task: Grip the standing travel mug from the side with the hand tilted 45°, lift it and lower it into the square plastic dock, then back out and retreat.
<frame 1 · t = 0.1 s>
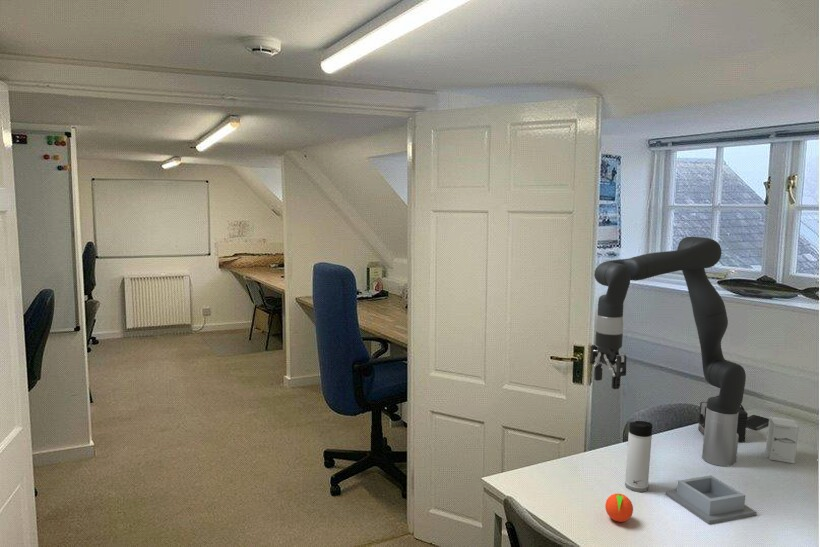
hand: (606, 384, 176), 29 cm above the table, tool pointing down, fingers open, 8 cm apart
clementine: (618, 521, 157), on the table
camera: (719, 436, 215), on the table
mug dock: (709, 504, 166), on the table
phone: (754, 424, 227), on the table
travel mug: (636, 487, 175), on the table
supplement box: (779, 458, 197), on the table
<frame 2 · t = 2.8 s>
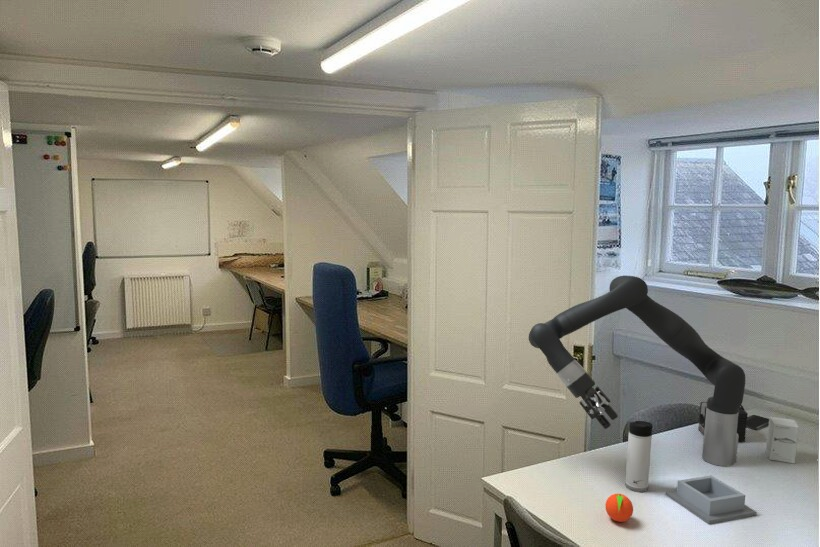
hand: (612, 422, 177), 18 cm above the table, tool tilted 45°, fingers open, 8 cm apart
nothing on the table moved.
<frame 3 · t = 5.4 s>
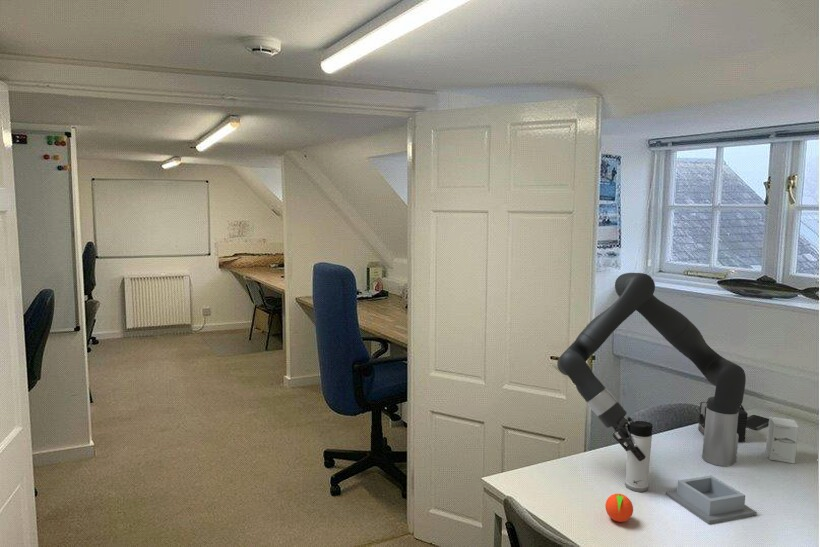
hand: (645, 455, 173), 10 cm above the table, tool tilted 45°, fingers closed on travel mug, 6 cm apart
travel mug: (636, 487, 175), on the table, touching gripper
everything else where it was.
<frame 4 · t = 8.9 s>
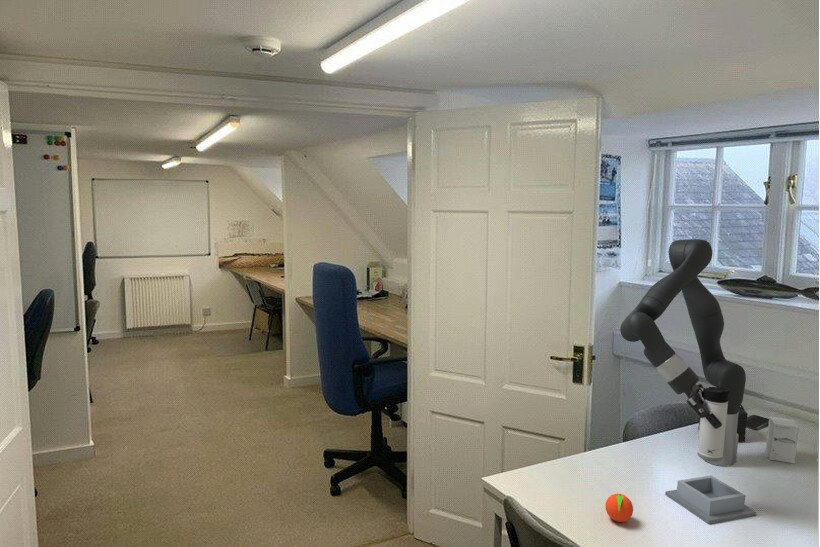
hand: (720, 422, 162), 24 cm above the table, tool tilted 45°, fingers closed on travel mug, 6 cm apart
travel mug: (710, 458, 164), point 13 cm above the table, touching gripper
everything else where it was.
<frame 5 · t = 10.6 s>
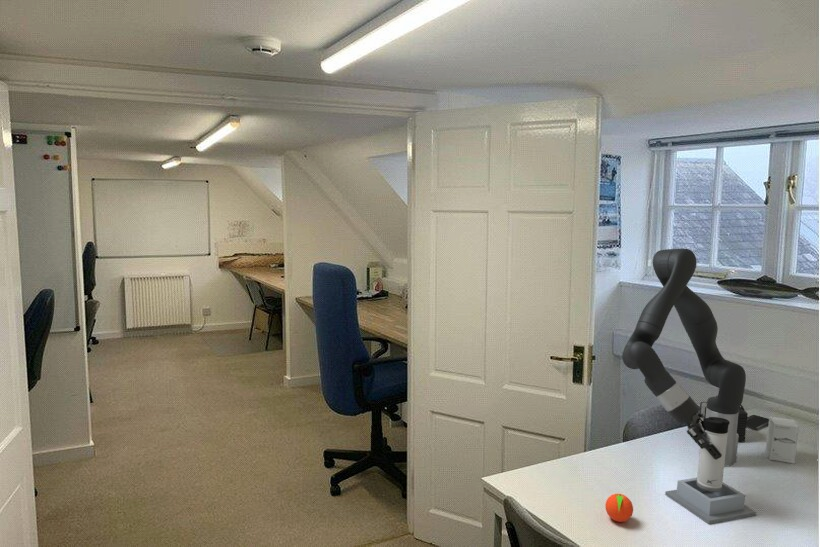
hand: (720, 453, 163), 15 cm above the table, tool tilted 45°, fingers closed on travel mug, 6 cm apart
travel mug: (709, 487, 165), point 5 cm above the table, touching gripper
everything else where it was.
when the fingers open (13 cm above the table, at t = 12.2 s): travel mug drops 1 cm, resting on mug dock.
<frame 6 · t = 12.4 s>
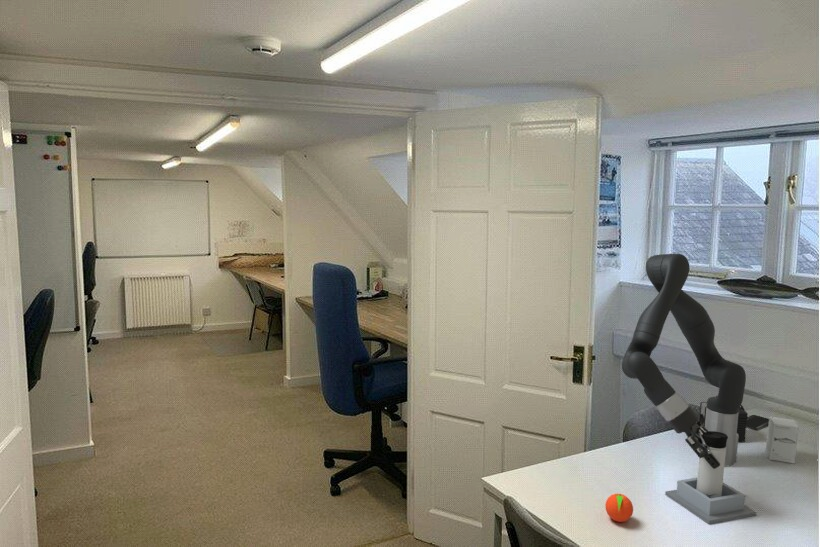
hand: (718, 461, 163), 13 cm above the table, tool tilted 45°, fingers open, 8 cm apart
travel mug: (708, 501, 166), point 1 cm above the table, touching mug dock
everything else where it was.
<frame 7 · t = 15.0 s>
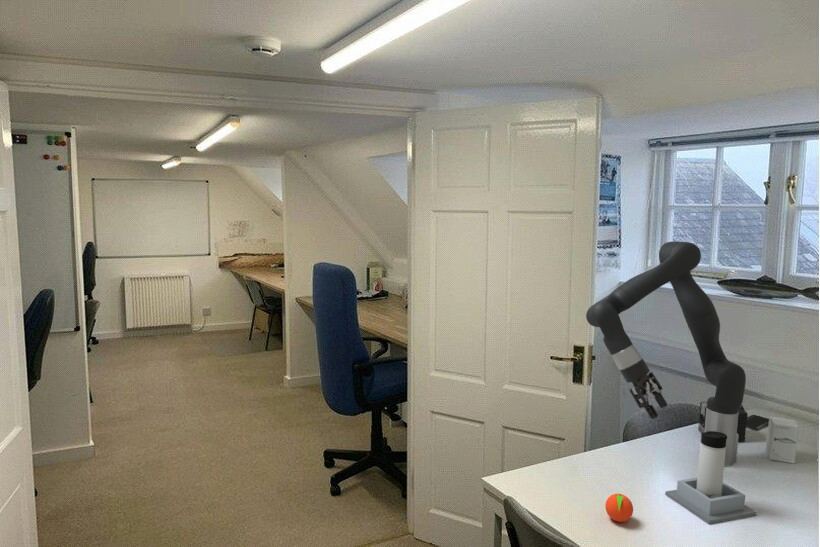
hand: (660, 412, 174), 22 cm above the table, tool tilted 35°, fingers open, 8 cm apart
nothing on the table moved.
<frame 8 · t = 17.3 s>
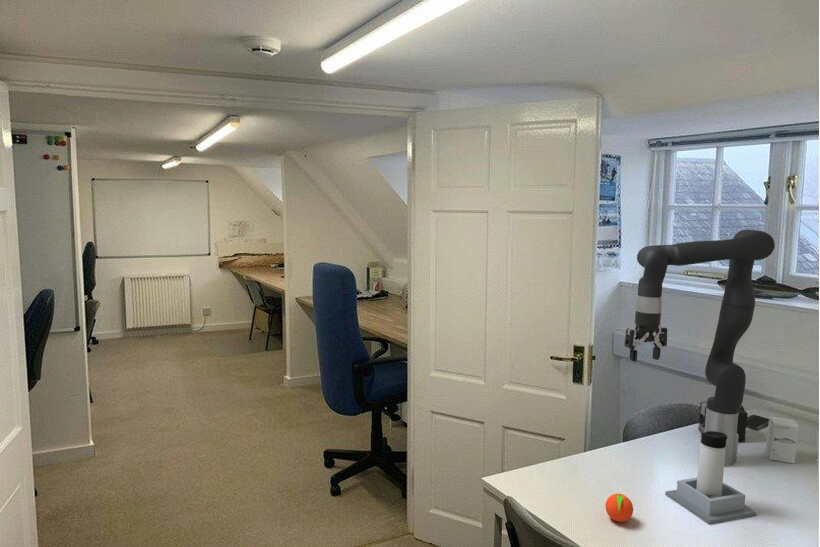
hand: (644, 360, 190), 33 cm above the table, tool pointing down, fingers open, 8 cm apart
nothing on the table moved.
at the end: travel mug 0.3 cm off-centre on the mug dock, point 0.8 cm above the mug dock's base; travel mug tilted 0°; the gripper is holding nothing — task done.
